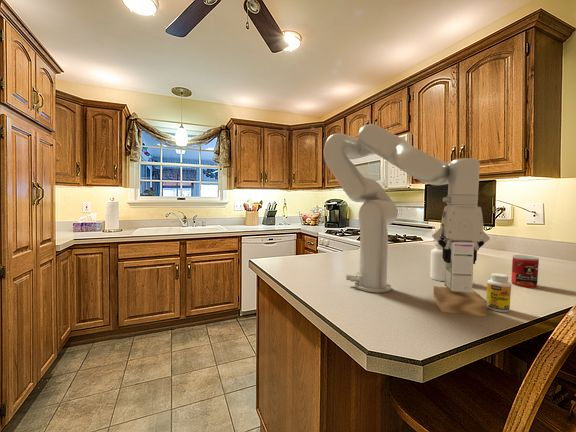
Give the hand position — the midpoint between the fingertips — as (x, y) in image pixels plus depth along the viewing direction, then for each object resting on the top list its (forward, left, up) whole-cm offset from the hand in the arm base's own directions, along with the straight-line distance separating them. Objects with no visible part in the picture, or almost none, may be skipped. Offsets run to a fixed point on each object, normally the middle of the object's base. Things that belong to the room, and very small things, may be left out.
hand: (459, 262), depth 83 cm
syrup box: (0, 0, -8) cm, 8 cm away
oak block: (0, 0, -14) cm, 14 cm away
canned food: (+37, +29, -14) cm, 49 cm away
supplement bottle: (+11, 0, -14) cm, 18 cm away
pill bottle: (+8, +32, -14) cm, 36 cm away
